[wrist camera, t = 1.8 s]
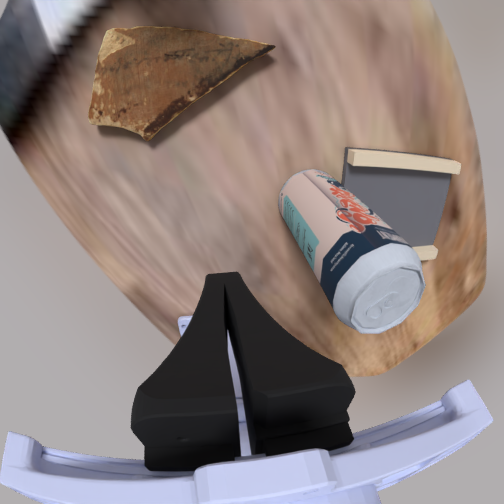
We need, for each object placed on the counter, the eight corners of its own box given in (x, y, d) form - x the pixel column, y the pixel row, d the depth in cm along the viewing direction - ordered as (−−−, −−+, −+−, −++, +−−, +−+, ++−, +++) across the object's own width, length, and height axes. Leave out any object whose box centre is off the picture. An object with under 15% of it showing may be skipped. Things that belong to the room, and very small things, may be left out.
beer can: (346, 201, 23) (439, 298, 12) (299, 236, 24) (364, 353, 14) (315, 154, 20) (419, 235, 10) (263, 194, 21) (322, 307, 11)
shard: (271, 48, 16) (277, 45, 15) (244, 151, 20) (248, 157, 18) (111, 28, 13) (103, 24, 12) (93, 133, 17) (84, 138, 16)
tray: (427, 250, 27) (435, 258, 26) (329, 261, 25) (336, 270, 24) (450, 158, 22) (461, 163, 20) (345, 147, 20) (354, 152, 19)
